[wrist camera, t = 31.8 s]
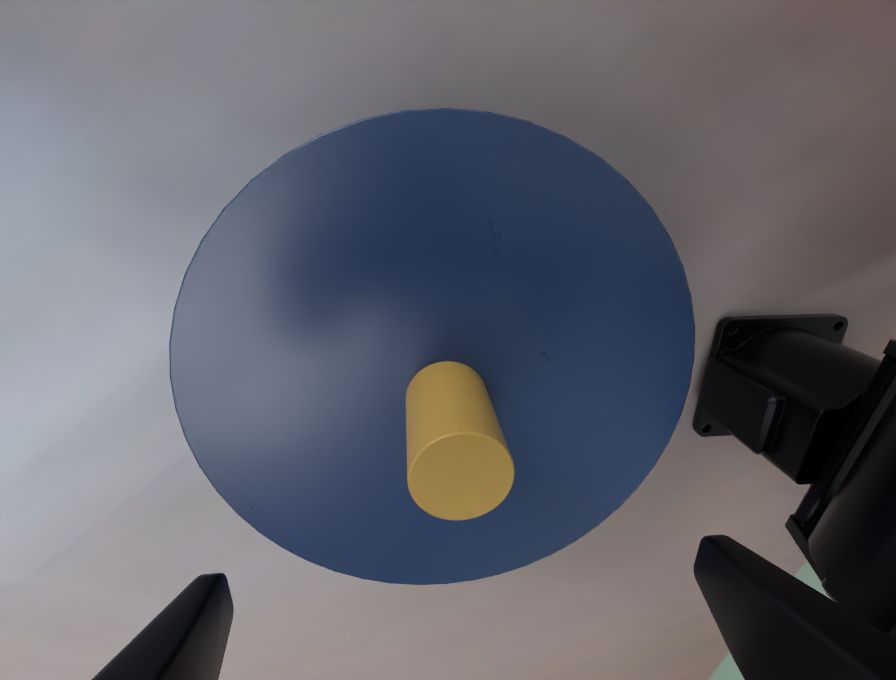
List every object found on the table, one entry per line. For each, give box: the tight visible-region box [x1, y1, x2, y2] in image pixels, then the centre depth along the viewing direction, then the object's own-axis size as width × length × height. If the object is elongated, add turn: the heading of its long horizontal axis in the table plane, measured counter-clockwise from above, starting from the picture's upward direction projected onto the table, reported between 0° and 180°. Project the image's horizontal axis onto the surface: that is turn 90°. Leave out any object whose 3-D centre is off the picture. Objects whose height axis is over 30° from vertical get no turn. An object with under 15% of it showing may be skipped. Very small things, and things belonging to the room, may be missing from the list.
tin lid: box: [169, 108, 695, 585], centre depth 13 cm, size 17×17×5 cm
